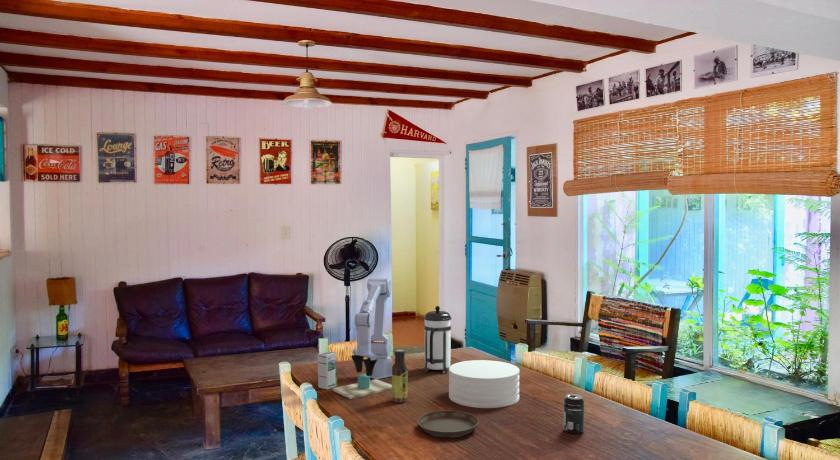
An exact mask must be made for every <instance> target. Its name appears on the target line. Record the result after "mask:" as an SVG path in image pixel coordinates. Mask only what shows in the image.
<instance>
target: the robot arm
mask: <svg viewBox="0 0 840 460" xmlns="http://www.w3.org/2000/svg"><path fill="white" fill-rule="evenodd" d="M366 288H367V292H368V294H367V298H366V299H364V301H363V302H362V304H361V307H360V310H359V312H357V313H356V314H355V316H354V325H355V331H356V348H353V349H352V355H351V359H352V361H353V364H354V367H355V370H356V373H361V372H363V363H364V367H365V374H366V375H367V376H370V379H373V380H375V379H378V380H380V379H385V378H390V377H392V367H393V360H392V357H391V356H390V353H391V341H390V339H389V338H390V337H388V336H387V335H386V334H385V328H386V327H385V325H386V312H387V300H388V298H390V297H391V295H392V281H391V279H390V278H389V277H387V278H386V277H385V278H381V277H380V278H379V277H369V278H368V279H367V282H366ZM373 323H374V324H373ZM372 325H373V334H372V333H371V332H372ZM364 358H365V359H364Z"/></svg>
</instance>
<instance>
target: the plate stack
mask: <svg viewBox="0 0 840 460" xmlns="http://www.w3.org/2000/svg"><path fill="white" fill-rule="evenodd" d="M448 385H449V386H448V398H449V399H450V401H451V402H454V403H456V404H458V405H460V406H465V407H470V408H477V409H478V408H480V409H494V408H495V409H497V408H505V407H509V406H512V405H514V404H516V403H518V402H519V401H520V368H519V367H518V366H516V365H515V364H512V363H509V362H505V361H498V360H489V359H475V360H473V359H472V360H465V361H464V360H463V361H460V362H459V361H458V362H456V363H453V364H451V366H450V367H449V368H448Z"/></svg>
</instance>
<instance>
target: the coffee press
mask: <svg viewBox="0 0 840 460" xmlns="http://www.w3.org/2000/svg"><path fill="white" fill-rule="evenodd" d="M434 309H435V310H431V311H427V312H426V313H425V315H424V316H423V320H424V324H423V329H424V368H423V369H422V371H423V372H424V373H427V372H428V371H429V370H434V371H435V370H437V371H439V370H440V371H442V373H443V374H448V369H449V367H450V366H451V365H452V363H451V351H452V348H451V343H452V342H451V341H452V339H451V335H452V333H451V330H452V324H451V321H452V316H451V314H450V313H449V312H447V311H445V310H441V307H440V306H439V305H436V306H435V308H434Z"/></svg>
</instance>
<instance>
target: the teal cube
mask: <svg viewBox="0 0 840 460" xmlns="http://www.w3.org/2000/svg"><path fill="white" fill-rule="evenodd" d="M370 380H371V377H370V376H367V375H366V373H362V374H361V373H360V374H358V375H357V383H358V388H359V389H368V388H370Z"/></svg>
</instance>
